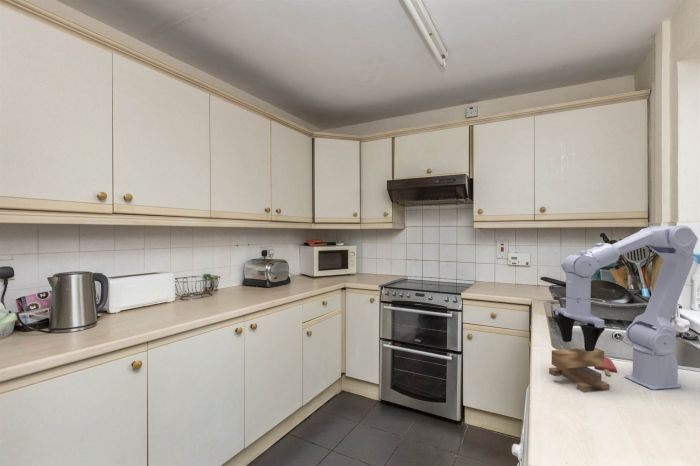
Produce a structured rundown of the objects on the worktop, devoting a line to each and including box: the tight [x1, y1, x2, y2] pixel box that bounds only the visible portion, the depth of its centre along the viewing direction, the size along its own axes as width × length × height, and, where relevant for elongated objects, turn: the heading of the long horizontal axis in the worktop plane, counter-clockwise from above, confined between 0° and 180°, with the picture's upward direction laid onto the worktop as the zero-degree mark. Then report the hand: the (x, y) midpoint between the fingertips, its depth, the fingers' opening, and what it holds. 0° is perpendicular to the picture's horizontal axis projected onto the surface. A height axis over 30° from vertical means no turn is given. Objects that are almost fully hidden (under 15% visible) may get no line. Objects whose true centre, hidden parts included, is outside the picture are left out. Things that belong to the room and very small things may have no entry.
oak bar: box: [551, 347, 605, 369], centre depth 94 cm, size 14×3×4 cm, turn 99°
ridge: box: [548, 366, 611, 393], centre depth 94 cm, size 8×12×4 cm, turn 9°
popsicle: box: [593, 356, 618, 377], centre depth 104 cm, size 5×2×15 cm
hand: (577, 346), depth 94 cm, fingers open, 7 cm apart
